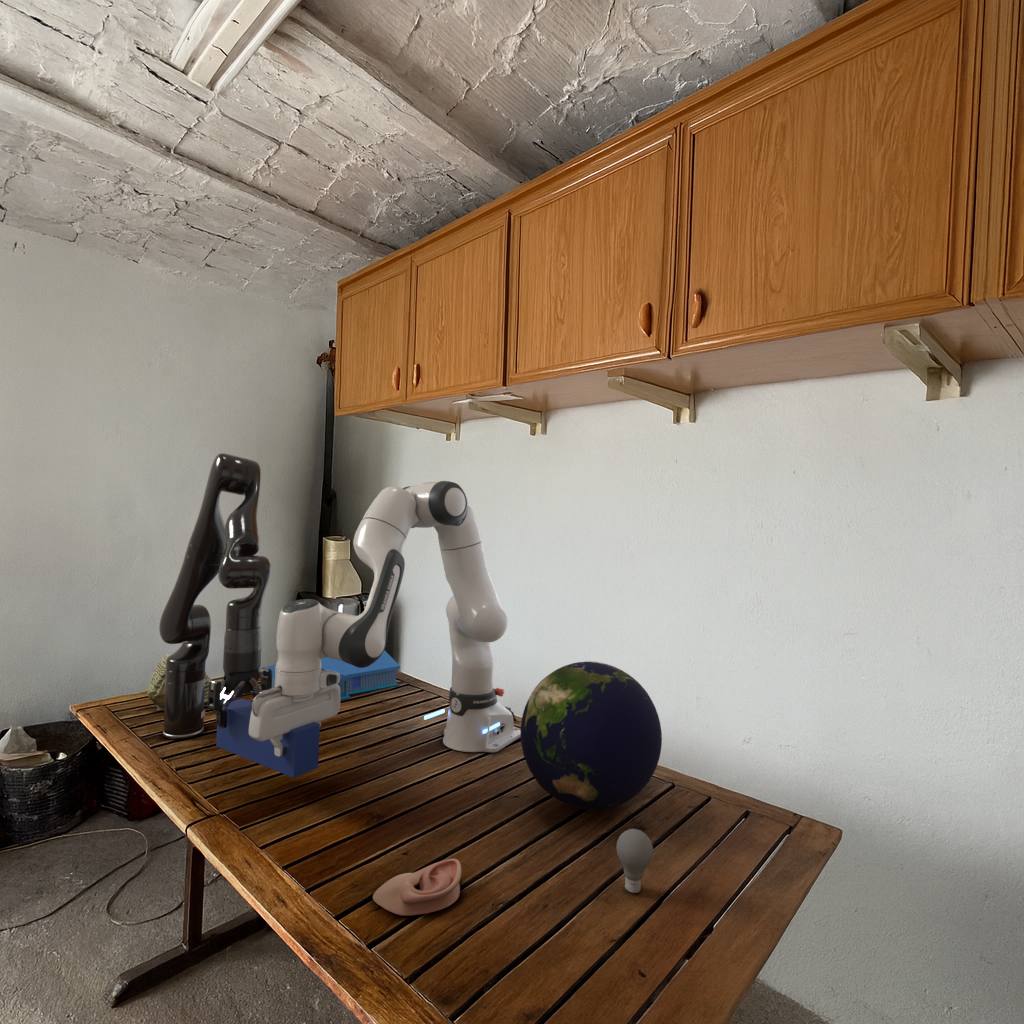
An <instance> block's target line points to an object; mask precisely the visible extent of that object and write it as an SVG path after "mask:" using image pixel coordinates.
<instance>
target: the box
mask: <svg viewBox="0 0 1024 1024" xmlns="http://www.w3.org/2000/svg"><path fill="white" fill-rule="evenodd" d="M252 702H253V700H248V699H245V698H240V699H236V700H235V699H234V701H233V702H231V703H230V705H229V706H228V708H227V711H228V712H227V727H226V728H220V727H218V725H217V724H216V743H215V744H216V747H217V748H219V749H221V750H224V751H226V752H228V753H231V754H233V755H236V756H237V757H238V756H239V757H241V758H244V759H246V760H248V761H251V762H253V763H256V764H257V765H260V766H264V767H266V768H268V769H271V770H273V771H276V772H278V773H280V774H283V775H285V776H287V777H291V778H292V779H295V778H297V777H299V776H302V775H305V774H306V773H309V772H312V771H313V770H316V769H319V753H320V751H319V750H320V732H321V731H320V728H321V726H320V724H319V723H316V722H313V723H310V724H307V725H304V726H301V727H298V728H295V729H293V730H290V732H288V733H285V734H283V738H282V740H280V742H281V744H282V745H285V746H286V754H285V755H282V756H280V757H278V756H276V755H275V754H274V747H275V746H274V745H273V744H272V742H271V740H270V739H268V740H265V741H258V740H255V739H253V738H251V736H250V735H249V722H250V716H251V711H252Z"/></svg>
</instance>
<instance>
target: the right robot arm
mask: <svg viewBox="0 0 1024 1024" xmlns="http://www.w3.org/2000/svg"><path fill="white" fill-rule="evenodd" d="M468 503H469V502H468V498H467V496H466V493H465V491H464V488H463V487H461V486H460V484H459V483H456V482H454V481H449V480H440V481H428V482H427V481H426V482H422V483H419V484H415V485H410V486H405V487H400V486H387V487H384V488H383V489H382V490H381V491H380V492H378V494H377V496H376V497H375V498H374V500H373V501H372V502H371V503H370V505H369V507H368V508H367V510H366V512H365V513H364V514H363V517H362V519H361V520H360V523H359V524H358V527H357V529H356V530H355V532H354V535H353V536H354V537H353V540H352V544H353V545H352V546H353V549H354V552H355V554H356V556H357V558H358V559H359V560H360V561H361V562H362V563H363V564H364V565H366V566H367V567H368V568H370V570H372V572H373V576H374V577H373V582H372V586H371V589H370V592H369V595H368V598H367V601H366V604H365V607H364V610H363V611H362V612H361V613H359V615H358V614H357V615H354V614H350V613H345V612H340V611H336V610H333V609H330V608H327V607H326V606H324V605H323V604H321V603H320V601H319V600H317V599H313V598H304V599H297V600H292V601H290V602H287V603H286V604H285V605H284V606H282V608H281V610H280V611H279V615H278V618H277V619H278V620H277V625H276V640H275V642H276V644H275V648H276V651H277V660H276V663H275V665H276V666H275V687H274V688H271V689H269V690H263V691H261V692H259V694H258V695H257V696H256V697H255V698H254V697H253V699H252V711H251V716H250V722H249V735H250V736H251V738H253V739H255V740H258V741H265V740H268V739H270V740H271V742H272V744H273V745H274V746H275V747H274V754H275V755H276V756H278V757H280V756H282V755H285V754H286V746H285V745H282V744H281V742H280V740H282V738H283V734H285V733H288V732H290V730H293V729H295V728H298V727H301V726H304V725H307V724H310V723H313V722H316V723H319V724H320V727H322V722H323V721H324V720H326V719H329V718H333V717H336V716H337V715H338V713H339V712H340V710H341V695H340V687H339V685H338V683H339V682H340V674H338V673H335V672H332V671H328V670H324V669H321V659H322V658H327V657H329V658H332V659H336V660H340V661H344V662H346V663H348V664H351V665H353V666H356V667H359V668H364V667H367V666H370V665H371V664H373V663H374V662H375V661H377V660H378V659H379V658H380V656H381V655H382V654H383V652H384V650H385V649H386V647H387V642H388V632H389V628H390V622H391V619H392V616H393V612H394V609H395V606H396V603H397V598H398V596H399V593H400V588H401V585H402V581H403V577H404V572H405V569H406V568H405V565H406V563H405V557H404V556H403V548H404V546H405V542H406V540H407V538H408V536H409V533H410V530H411V529H415V528H418V529H420V528H421V529H423V528H424V529H426V528H427V529H428V528H434V530H435V531H436V533H437V539H438V546H439V551H440V555H441V561H442V566H443V571H444V574H445V578H446V579H445V580H446V581H447V583H448V585H449V588H450V589H451V593H452V594H453V595H452V596H451V597H450V598H449V599H448V602H447V603H446V608H445V613H446V617H447V620H448V621H447V622H448V630H449V631H448V632H449V640H450V648H451V658H452V659H451V662H452V663H451V664H452V665H451V686H450V688H449V692H448V702H449V706H448V712H447V718H446V726H445V728H444V729H443V739H442V744H443V745H444V746H446V747H447V748H449V749H451V750H454V751H458V752H463V753H465V752H466V753H480V752H481V753H483V752H484V753H498V752H499V751H501V750H502V749H505V748H506V747H507V746H509V745H510V744H512V743H514V742H515V741H516V740H518V739H519V738H520V739H521V729H519V727H515V726H514V725H515V724H514V723H515V722H517V721H518V720H517V718H516V716H515V713H514V712H513V711H512V707H509V706H504V705H503V704H501V703H500V702H499V701H498V697H503V696H504V694H505V690H504V688H500V687H496V688H494V681H495V680H494V679H495V658H494V655H493V652H492V646H491V643H494V642H496V641H499V639H501V638H502V637H503V636H504V635H505V633H506V631H507V629H508V621H509V620H508V616H507V614H506V612H505V610H504V608H503V606H502V604H501V602H500V599H499V596H498V593H497V590H496V588H495V585H494V583H493V580H492V578H491V575H490V571H489V569H488V565H487V564H488V563H487V560H486V555H485V550H484V549H485V548H484V545H483V541H482V535H481V532H480V528H479V525H478V522H477V519H476V516H475V513H474V511H473V510H472V508H471V507H470V505H468ZM385 651H386V650H385ZM259 696H260V697H259ZM497 696H498V697H497ZM445 710H446V709H439V710H437V711H435V712H432V713H429V714H426V715H424V717H423V720H425V721H426V720H429V719H431V718H434V717H437V716H439V715H442V714H445V712H446V711H445Z"/></svg>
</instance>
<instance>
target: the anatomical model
mask: <svg viewBox="0 0 1024 1024" xmlns="http://www.w3.org/2000/svg"><path fill="white" fill-rule="evenodd" d="M461 879H462V864H461V862H460V860H459V859H457V858H448V859H447V858H446V859H444V860H443V859H442V860H440V861H437V862H435V863H432V864H430V865H428V866H425V867H423V868H421V869H419V870H417V871H414V872H404V873H401V874H397V875H395V876H393V877H392V878H390V879H388V880H387V881H385V882H384V883H383V884H382V885H381V886H379V887H378V888H377V890H376V891H375V892H374V893H373V895H372V900H373V902H374V903H376V904H377V905H378V906H380V907H381V908H382V909H384V910H386V911H388V912H390V913H392V914H394V915H397V916H403V917H404V916H405V917H407V916H417V915H423V914H430V913H435V912H437V911H441V910H444V909H445V908H448V907H450V906H451V905H452V904H455V902H456V901H457V900H458V899H459V897H460V893H461V885H460V881H461Z"/></svg>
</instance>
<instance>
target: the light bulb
mask: <svg viewBox="0 0 1024 1024" xmlns="http://www.w3.org/2000/svg"><path fill="white" fill-rule="evenodd" d="M615 849H616V854H617V857H618V859H619V861H620V863H621V865H622V867H623V873H624V874H623V875H624V876H625V878H624V888H625V890H627V891H628V892H630V893H634V894H635V893H639V892H640V891H641V889H642V887H641V886H642V879H643V877H644V875H645V871H646V868H647V867H648V866H649V864H650V863H651V861H652V859H653V855H654V847H653V843H652V841H651V838H649V836H648V835H647V834H646V833H645V832H643V831H642V830H641V829H636V828H629V829H627V830H625V831H623V832H622V833H621V834H620V835H619V837H618V839H617V841H616V847H615Z"/></svg>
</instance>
